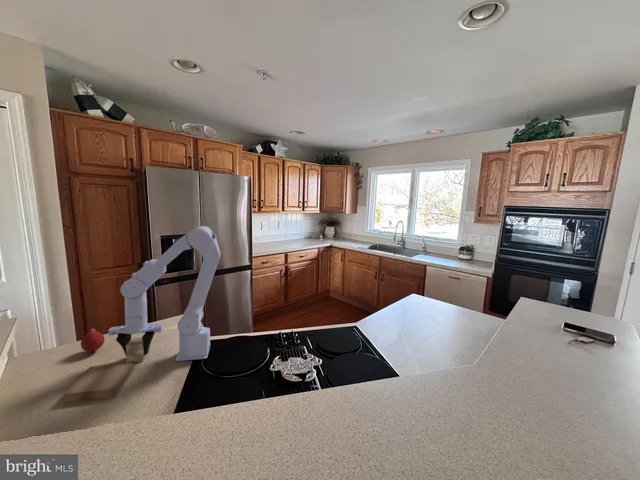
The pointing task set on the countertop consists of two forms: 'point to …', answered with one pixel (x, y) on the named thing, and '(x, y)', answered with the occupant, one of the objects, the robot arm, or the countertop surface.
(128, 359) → the beech block
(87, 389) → the walnut block
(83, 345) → the onion
